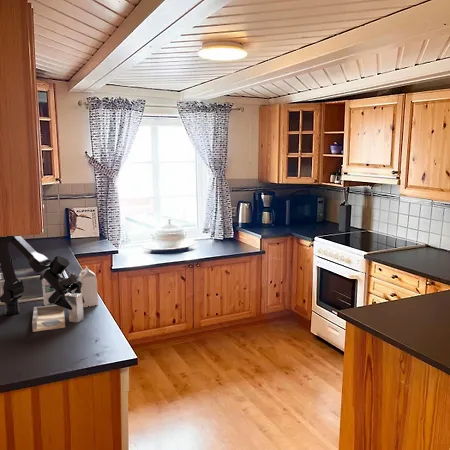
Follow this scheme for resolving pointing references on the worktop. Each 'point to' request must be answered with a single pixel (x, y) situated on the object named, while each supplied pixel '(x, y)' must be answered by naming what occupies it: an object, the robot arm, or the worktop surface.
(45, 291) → the syrup box
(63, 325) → the corner arena
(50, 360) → the worktop surface
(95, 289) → the milk carton
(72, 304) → the aluminium post
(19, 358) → the worktop surface
